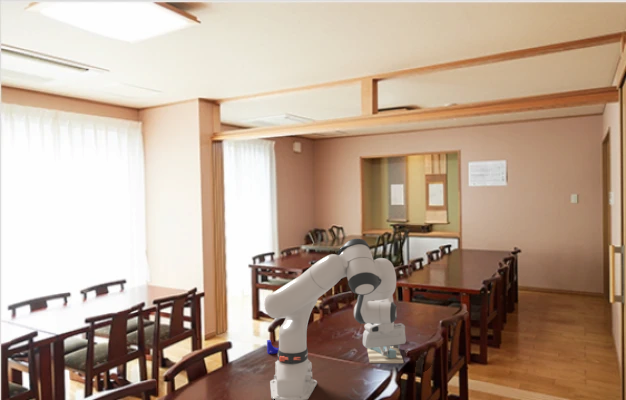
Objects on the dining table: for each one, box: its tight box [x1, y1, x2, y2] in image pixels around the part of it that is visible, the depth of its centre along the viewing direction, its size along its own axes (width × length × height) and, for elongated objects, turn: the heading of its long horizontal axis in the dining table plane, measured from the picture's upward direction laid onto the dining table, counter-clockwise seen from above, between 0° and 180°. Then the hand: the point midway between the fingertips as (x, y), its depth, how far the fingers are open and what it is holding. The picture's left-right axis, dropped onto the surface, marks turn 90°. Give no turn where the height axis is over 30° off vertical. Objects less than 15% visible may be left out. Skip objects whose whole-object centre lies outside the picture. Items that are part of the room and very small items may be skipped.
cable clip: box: [266, 339, 279, 355], centre depth 215 cm, size 12×4×6 cm, turn 107°
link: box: [369, 346, 396, 358], centre depth 207 cm, size 18×4×3 cm, turn 28°
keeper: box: [390, 344, 401, 350], centre depth 210 cm, size 4×11×6 cm, turn 147°
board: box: [366, 346, 404, 364], centre depth 206 cm, size 20×15×5 cm
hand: (384, 355), depth 200 cm, fingers closed
